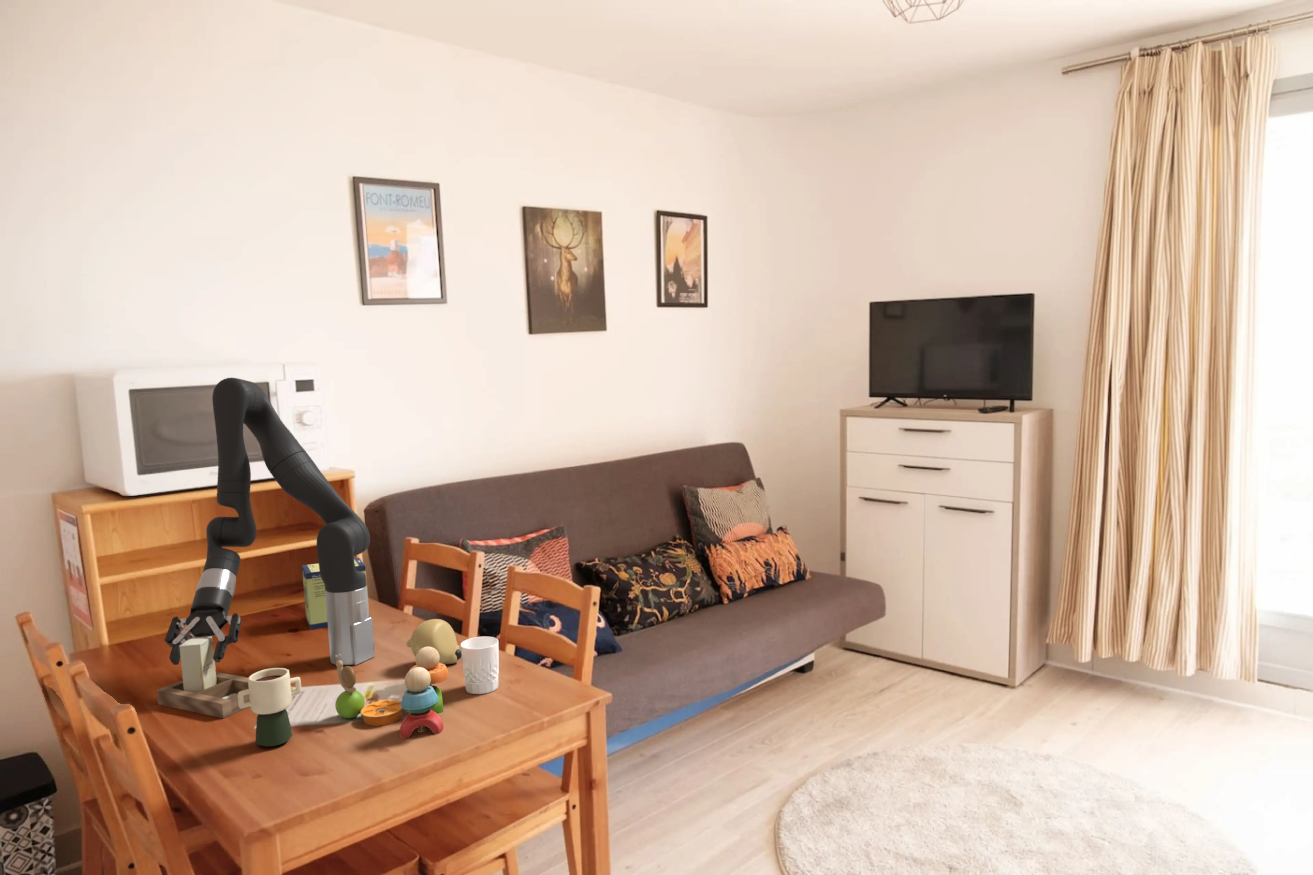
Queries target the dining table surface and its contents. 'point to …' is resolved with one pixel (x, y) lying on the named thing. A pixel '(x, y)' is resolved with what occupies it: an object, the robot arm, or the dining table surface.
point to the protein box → (319, 594)
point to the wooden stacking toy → (414, 698)
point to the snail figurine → (348, 692)
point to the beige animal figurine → (436, 640)
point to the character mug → (270, 704)
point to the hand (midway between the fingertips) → (195, 661)
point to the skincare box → (198, 664)
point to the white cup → (480, 664)
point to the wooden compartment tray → (207, 696)
